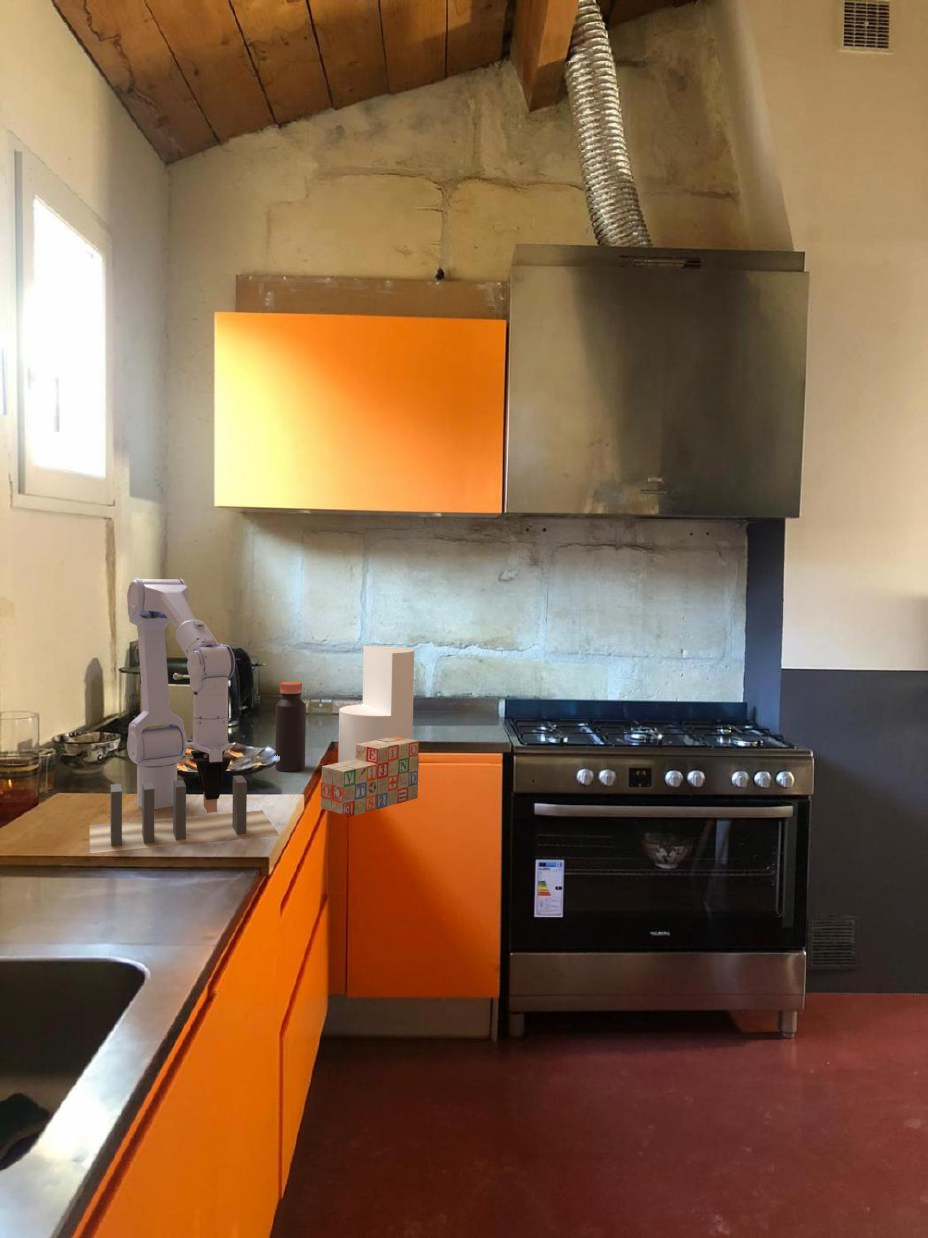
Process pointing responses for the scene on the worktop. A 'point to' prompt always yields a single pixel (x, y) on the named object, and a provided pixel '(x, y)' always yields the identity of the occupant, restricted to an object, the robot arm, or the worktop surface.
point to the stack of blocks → (372, 777)
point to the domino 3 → (179, 809)
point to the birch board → (196, 832)
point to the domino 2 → (148, 812)
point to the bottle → (290, 728)
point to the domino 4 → (210, 801)
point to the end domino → (239, 804)
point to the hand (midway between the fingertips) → (210, 795)
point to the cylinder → (380, 700)
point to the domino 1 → (116, 815)
